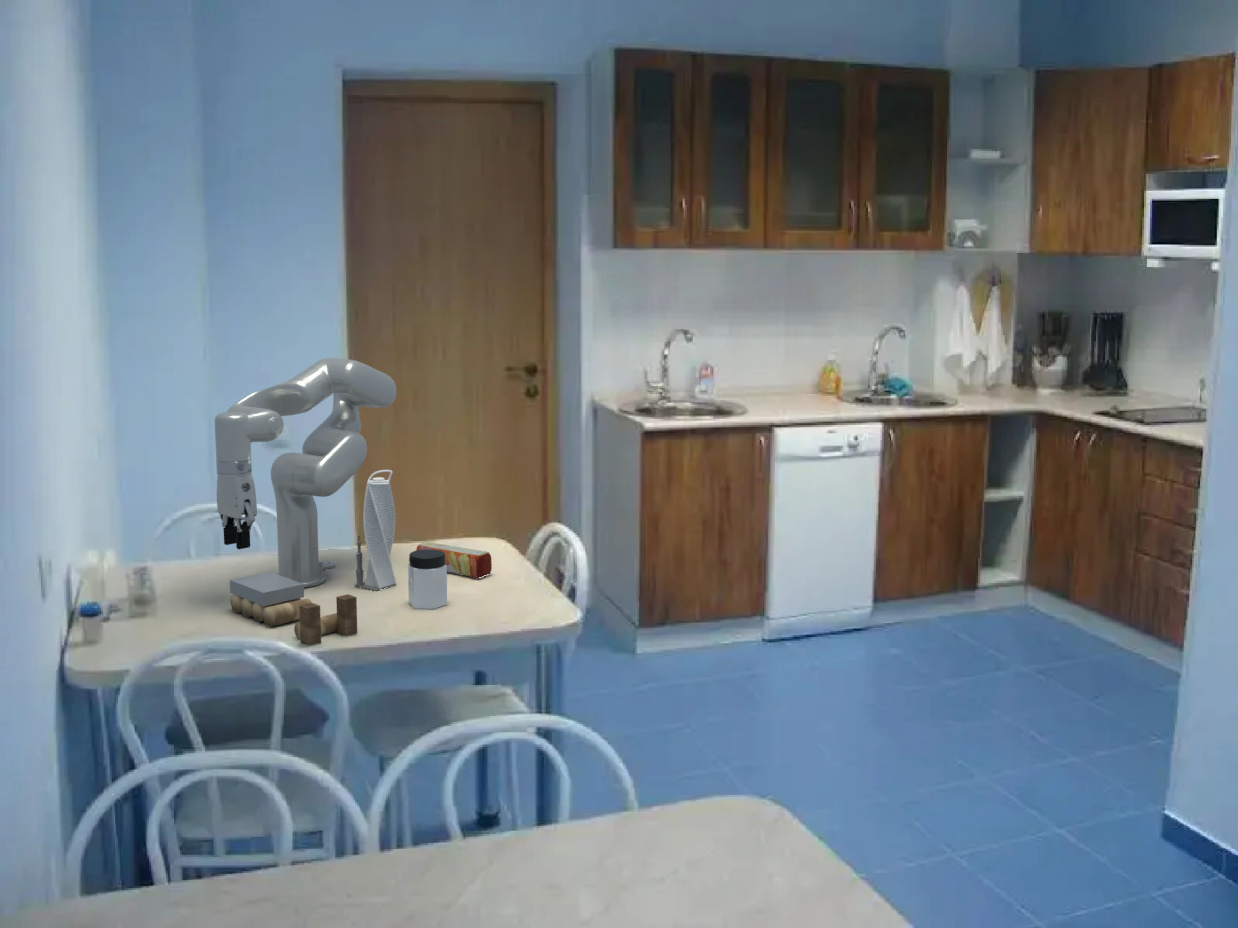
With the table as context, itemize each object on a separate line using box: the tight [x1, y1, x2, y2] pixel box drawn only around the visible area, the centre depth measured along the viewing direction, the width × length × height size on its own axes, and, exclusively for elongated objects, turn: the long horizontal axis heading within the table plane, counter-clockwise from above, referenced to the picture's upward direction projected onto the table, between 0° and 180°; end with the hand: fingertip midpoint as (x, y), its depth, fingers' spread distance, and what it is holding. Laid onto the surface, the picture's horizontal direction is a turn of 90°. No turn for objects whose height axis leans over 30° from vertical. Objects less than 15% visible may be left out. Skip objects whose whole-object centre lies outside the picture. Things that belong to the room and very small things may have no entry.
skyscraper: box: [354, 469, 397, 592], centre depth 302 cm, size 8×8×28 cm
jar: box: [407, 549, 448, 610], centre depth 290 cm, size 9×8×12 cm
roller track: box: [229, 594, 313, 628], centre depth 280 cm, size 10×18×4 cm, turn 47°
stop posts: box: [299, 593, 358, 647], centre depth 265 cm, size 12×3×8 cm, turn 137°
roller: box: [293, 612, 337, 640], centre depth 268 cm, size 10×4×4 cm
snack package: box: [415, 541, 493, 579], centre depth 319 cm, size 21×7×7 cm, turn 55°
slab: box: [229, 571, 305, 606], centre depth 281 cm, size 10×14×3 cm
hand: (237, 545), depth 288 cm, fingers open, 4 cm apart
